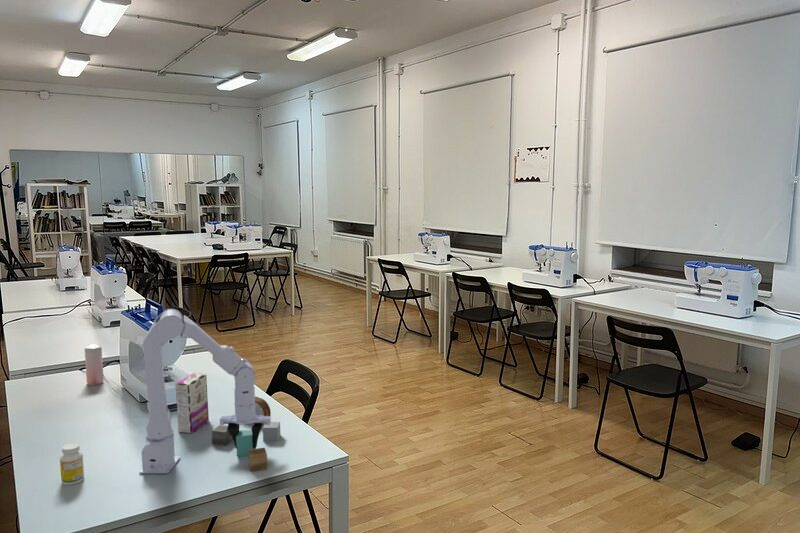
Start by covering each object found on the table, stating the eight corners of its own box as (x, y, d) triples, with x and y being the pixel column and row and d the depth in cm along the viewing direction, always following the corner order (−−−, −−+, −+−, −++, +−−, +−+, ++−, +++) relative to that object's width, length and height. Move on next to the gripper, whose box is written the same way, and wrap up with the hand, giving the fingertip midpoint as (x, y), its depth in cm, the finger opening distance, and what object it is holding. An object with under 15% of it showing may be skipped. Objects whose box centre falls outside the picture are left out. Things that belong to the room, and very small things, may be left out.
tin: (271, 424, 196) (271, 399, 195) (264, 427, 194) (264, 402, 193) (240, 414, 204) (239, 390, 203) (233, 417, 202) (232, 393, 201)
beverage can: (87, 381, 236) (84, 345, 234) (104, 379, 239) (101, 343, 237) (86, 386, 231) (84, 349, 229) (103, 384, 234) (101, 347, 232)
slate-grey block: (277, 441, 183) (277, 427, 182) (263, 441, 183) (262, 427, 182) (280, 435, 188) (280, 422, 187) (266, 435, 187) (265, 421, 187)
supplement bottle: (80, 484, 156) (78, 450, 155) (58, 486, 155) (55, 451, 154) (87, 474, 161) (84, 441, 160) (65, 476, 160) (63, 442, 159)
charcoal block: (225, 446, 179) (224, 432, 179) (212, 444, 181) (211, 430, 180) (233, 440, 184) (232, 426, 183) (220, 438, 185) (219, 424, 184)
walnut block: (267, 469, 165) (266, 454, 165) (250, 472, 164) (250, 456, 163) (265, 462, 169) (264, 447, 169) (248, 464, 168) (248, 449, 167)
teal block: (252, 455, 173) (251, 436, 172) (236, 455, 173) (236, 436, 172) (255, 449, 178) (255, 430, 177) (240, 449, 178) (240, 430, 177)
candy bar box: (195, 419, 200) (193, 372, 198) (209, 420, 199) (207, 373, 197) (177, 432, 189) (174, 383, 187) (191, 433, 188) (189, 384, 186)
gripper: (216, 408, 169) (217, 453, 171) (266, 408, 169) (267, 453, 171) (223, 399, 176) (224, 442, 178) (271, 399, 176) (272, 442, 178)
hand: (246, 447), depth 175 cm, fingers closed on teal block, 4 cm apart
